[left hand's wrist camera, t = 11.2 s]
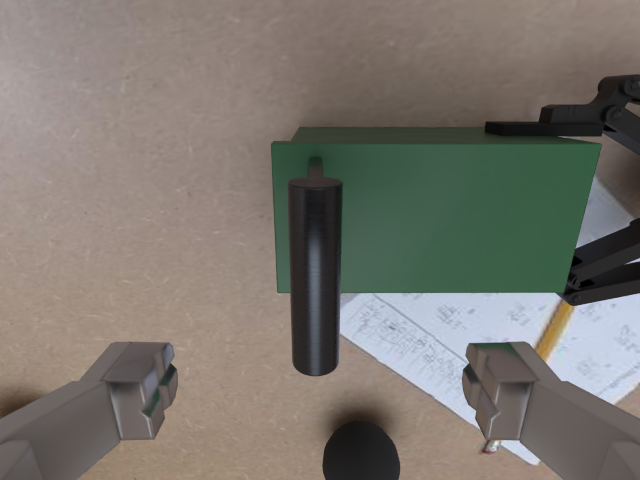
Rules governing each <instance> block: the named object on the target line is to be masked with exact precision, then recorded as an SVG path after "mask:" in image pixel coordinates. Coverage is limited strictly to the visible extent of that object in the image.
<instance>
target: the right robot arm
mask: <svg viewBox="0 0 640 480" xmlns="http://www.w3.org/2000/svg"><path fill="white" fill-rule="evenodd" d="M598 92H599V93H598V94H597V96H596V98H595V99H594V100H593V101H592V102H590V103H588V104H585V105H547V106H544V107H542V108H541V113H540V118H539V122H486V124H485V131H484V132H485V133H490V134H495V135H500V136H602V133H604V134H605V135H607V136H609V137H610V138H612V139H614V140H615V141H617V142H619V143H620V144H622V145H623V146H625V147H627V148H628V149H630V150H632V151H633V152H635V153H637V154H638V155H640V117H638V116H637V115H635V114H633V113H632V112H630V111H629V110H627V109H625V108H624V107H625V106H626V104H627V102H629V103H633V104H637V105H640V75H622V76H609V77H605V78H603V79H602V80H601V81H600V83H599V84H598ZM638 258H640V218H638V219H635V220H633V221H631V222H630V226H628V227H626V228H624V229H621V230H619V231H617V232H614V233H612V234H609V235H607V236H605V237H602V238H600V239H598V240H595V241H593V242H591V243H588V244H586V245H583V246H581V247H579V248H576V249H575V251H574V255H573V259H572V263H571V267H570V271H569V275H568V279H567V283H566V286H565V290H564V292H563V293H556V294H557V295H559V296H560V297H561V298H562V299H563V300H565V301H566V302H567V303H568V304H570V305H572V306H577V305H582V304H587V303H592V302H597V301H602V300H607V299H612V298H617V297H623V296H628V295H633V294H638V293H640V262H634V263H629V262H631V261H633V260H636V259H638ZM626 263H629V264H626Z"/></svg>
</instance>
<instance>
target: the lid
mask: <svg viewBox="0 0 640 480" xmlns="http://www.w3.org/2000/svg"><path fill="white" fill-rule="evenodd" d="M601 146H602V144H600V143H594V142H587V141H274V142H273V143H272V144H271V156H272V179H273V202H274V226H275V249H276V272H277V292H278V293H290V296H291V330H292V362H293V365H294V367H295V368H296V370H298V371H299V372H300V373H302V374H305V375H308V376H322V375H326V374H329V373H331V372H332V371H333V370H335V368H336V367H337V366H338V363H339V332H340V293H563V292H564V290H565V286H566V283H567V279H568V275H569V271H570V267H571V263H572V259H573V255H574V251H575V247H576V243H577V240H578V236H579V232H580V228H581V224H582V220H583V216H584V212H585V208H586V204H587V200H588V197H589V193H590V189H591V185H592V181H593V177H594V173H595V169H596V165H597V161H598V157H599V154H600V150H601Z"/></svg>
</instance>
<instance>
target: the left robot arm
mask: <svg viewBox="0 0 640 480" xmlns="http://www.w3.org/2000/svg"><path fill="white" fill-rule="evenodd" d="M174 356H175V355H174V350H173V345H171V344H170V343H165V342H114V343H111V344H110V345H109V347H108V348H107V349H106V350H105V351H104V352H103V354H102V355H101V356H100V357H99V358H98V359H97V360H96V362H95V363H94V364H93V365H92V366H91V367H90V369H89V370H88V371H87V372H86V373H85V374H84V375H83V377H82V378H81V379H80V380H79V381H72V382H70V383H68V384H66V385H64V386H62V387H61V388H59V389H57V390H55V391H53V392H51V393H49V394H47V395H45V396H43V397H41V398H39V399H37V400H35V401H33V402H31V403H30V404H28V405H26V406H24V407H22V408H20V409H18V410H16V411H14V412H12V413H10V414H8V415H6V416H4V417H2V418H1V419H0V480H77V479H78V478H79V477H80V476H81V475H83V474H84V473H85V472H86V471H87V470H88V469H90V468H91V467H92V466H93V465H94V464H95V463H97V462H98V461H99V460H100V459H101V458H102V457H104V456H105V455H106V454H107V453H108V452H109V451H111V450H112V449H113V448H114V447H115V446H116V445H118V444H119V443H120V440H151V439H155V437H156V435H157V433H158V431H159V429H160V427H161V425H162V423H163V421H164V419H165V416H164V410H165V409H167V408H168V407H169V406H171V405H172V403H173V400H174V398H175V395H176V391H177V386H178V374H177V369H176V368H175V367H174V366H173V365H172V364H171V361H172V359H173V358H174ZM465 356H466V358H467V359H468V361H469V364H468V365H467V366H466V367H465V368H464V369H463V375H462V385H463V392H464V395H465V398H466V400H467V403H468V405H469V406H471V407H472V408H473V409H475V410H476V416H475V419H476V421H477V423H478V425H479V427H480V429H481V431H482V433H483V435H484V437H485V439H488V440H520V443H521V444H523V445H524V446H525V447H526V448H527V449H528V450H530V451H531V452H532V453H533V454H534V455H535V456H537V457H538V458H539V459H540V460H541V461H542V462H544V463H545V464H546V465H547V466H548V467H549V468H551V469H552V470H553V471H554V472H555V473H556V474H558V475H559V476H560V477H561V478H562V479H563V480H640V419H639V418H637V417H635V416H633V415H632V414H630V413H628V412H626V411H624V410H622V409H620V408H618V407H616V406H614V405H612V404H610V403H608V402H606V401H605V400H603V399H601V398H599V397H597V396H595V395H593V394H591V393H589V392H587V391H585V390H583V389H581V388H579V387H578V386H576V385H574V384H572V383H570V382H568V381H561V380H560V379H559V378H558V377H557V375H556V374H555V373H554V372H553V371H552V370H551V369H550V367H549V366H548V365H547V364H546V363H545V362H544V360H543V359H542V358H541V357H540V356H539V355H538V354H537V352H536V351H535V350H534V349H533V348H532V347H531V345H530V344H528V343H526V342H506V343H469V344H468V346H467V349H466V355H465Z"/></svg>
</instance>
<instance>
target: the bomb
mask: <svg viewBox="0 0 640 480" xmlns="http://www.w3.org/2000/svg"><path fill="white" fill-rule="evenodd" d="M322 467H323V474H324V476H325V479H326V480H398V479H399V475H400V462H399V457H398V454H397V450H396V447H395V445H394V443H393V441H392V440H391V439H390V437H389V436H388V435H387V434H386V433H385V432H384V431H383V430H382V429H381V428H379V427H377V426H376V425H374V424H372V423H369V422H364V421H354V422H350V423H347V424H344V425H343V426H341V427H340V428H339V429H337V430H336V431H335V432H334V433H333V434H332V436H331V437H330V439H329V441H328V442H327V444H326V446H325V449H324V456H323V466H322Z"/></svg>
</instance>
